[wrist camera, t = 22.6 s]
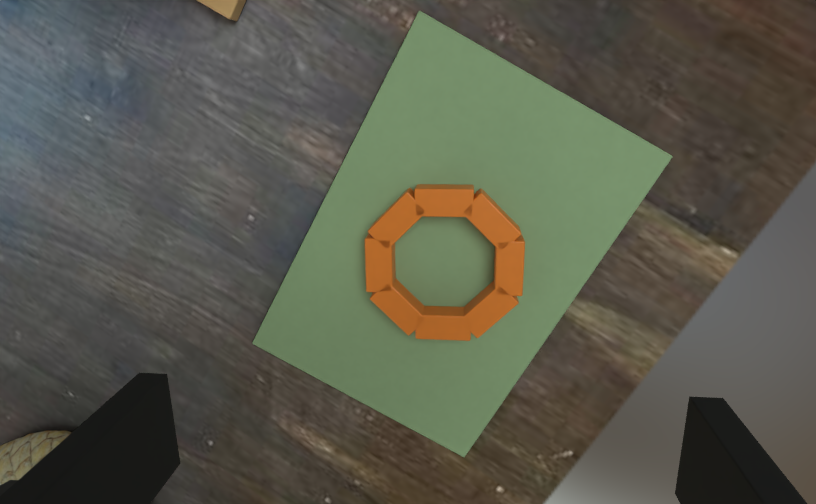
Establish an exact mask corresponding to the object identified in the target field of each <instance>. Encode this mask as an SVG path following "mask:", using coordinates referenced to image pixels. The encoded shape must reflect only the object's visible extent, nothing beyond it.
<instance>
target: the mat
mask: <svg viewBox="0 0 816 504" xmlns="http://www.w3.org/2000/svg"><path fill="white" fill-rule="evenodd" d="M671 158H672V155H670V154H668V153H666V152H665V151H663V150H661V149H659V148H658V147H656V146H654V145H652V144H651V143H649V142H647V141H646V140H644V139H642V138H640V137H639V136H637V135H635V134H633V133H632V132H630V131H628V130H626V129H625V128H623V127H621V126H619V125H618V124H616V123H614V122H612V121H611V120H609V119H607V118H605V117H604V116H602V115H600V114H599V113H597V112H595V111H593V110H592V109H590V108H588V107H586V106H585V105H583V104H581V103H579V102H578V101H576V100H574V99H572V98H571V97H569V96H567V95H565V94H564V93H562V92H560V91H559V90H557V89H555V88H553V87H552V86H550V85H548V84H546V83H545V82H543V81H541V80H539V79H538V78H536V77H534V76H532V75H531V74H529V73H527V72H525V71H524V70H522V69H520V68H518V67H517V66H515V65H513V64H512V63H510V62H508V61H506V60H505V59H503V58H501V57H499V56H498V55H496V54H494V53H492V52H491V51H489V50H487V49H485V48H484V47H482V46H480V45H478V44H477V43H475V42H473V41H472V40H470V39H468V38H466V37H465V36H463V35H461V34H459V33H458V32H456V31H454V30H452V29H451V28H449V27H447V26H445V25H444V24H442V23H440V22H438V21H437V20H435V19H433V18H431V17H430V16H428V15H426V14H425V13H423V12H421V11H419V12H418V14H417V16H416V18H415V20H414V22H413V24H412V26H411V28H410V30H409V32H408V34H407V36H406V38H405V40H404V42H403V44H402V46H401V48H400V50H399V52H398V54H397V56H396V58H395V60H394V62H393V64H392V66H391V68H390V70H389V72H388V74H387V76H386V78H385V80H384V82H383V84H382V86H381V88H380V90H379V91H378V93H377V95H376V97H375V99H374V101H373V103H372V105H371V107H370V109H369V111H368V113H367V115H366V117H365V119H364V121H363V123H362V125H361V127H360V129H359V131H358V133H357V135H356V137H355V139H354V141H353V143H352V145H351V147H350V149H349V151H348V153H347V155H346V157H345V159H344V161H343V163H342V165H341V167H340V169H339V171H338V173H337V175H336V177H335V179H334V181H333V183H332V185H331V187H330V189H329V191H328V193H327V195H326V197H325V199H324V201H323V203H322V205H321V207H320V209H319V211H318V213H317V215H316V217H315V219H314V221H313V223H312V225H311V227H310V229H309V231H308V233H307V235H306V237H305V239H304V241H303V243H302V245H301V247H300V249H299V251H298V253H297V255H296V257H295V259H294V261H293V263H292V265H291V267H290V269H289V271H288V273H287V275H286V277H285V279H284V281H283V283H282V285H281V287H280V289H279V290H278V292H277V294H276V296H275V298H274V300H273V302H272V304H271V306H270V308H269V310H268V312H267V314H266V316H265V318H264V320H263V322H262V324H261V326H260V328H259V330H258V332H257V334H256V336H255V338H254V340H253V342H252V344H254V345H256V346H257V347H259V348H261V349H263V350H265V351H267V352H269V353H270V354H272V355H274V356H276V357H278V358H280V359H282V360H283V361H285V362H287V363H289V364H291V365H293V366H295V367H297V368H298V369H300V370H302V371H304V372H306V373H308V374H310V375H311V376H313V377H315V378H317V379H319V380H321V381H323V382H324V383H326V384H328V385H330V386H332V387H334V388H336V389H338V390H339V391H341V392H343V393H345V394H347V395H349V396H351V397H352V398H354V399H356V400H358V401H360V402H362V403H364V404H365V405H367V406H369V407H371V408H373V409H375V410H377V411H379V412H380V413H382V414H384V415H386V416H388V417H390V418H392V419H393V420H395V421H397V422H399V423H401V424H403V425H405V426H406V427H408V428H410V429H412V430H414V431H416V432H418V433H420V434H421V435H423V436H425V437H427V438H429V439H431V440H433V441H434V442H436V443H438V444H440V445H442V446H444V447H446V448H447V449H449V450H451V451H453V452H455V453H457V454H459V455H461V456H462V457H465V456H466V454H467V453H468V451H469V450H470V449H471V447H472V446H473V444H474V443H475V441H476V440H477V438H478V437H479V436H480V434H481V433H482V431H483V430H484V428H485V427H486V425H487V424H488V423H489V421H490V420H491V418H492V417H493V415H494V414H495V412H496V411H497V410H498V408H499V407H500V405H501V404H502V402H503V401H504V399H505V398H506V397H507V395H508V394H509V392H510V391H511V389H512V388H513V386H514V385H515V384H516V382H517V381H518V379H519V378H520V376H521V375H522V373H523V372H524V371H525V369H526V368H527V366H528V365H529V363H530V362H531V360H532V359H533V358H534V356H535V355H536V353H537V352H538V350H539V349H540V347H541V346H542V345H543V343H544V342H545V340H546V339H547V337H548V336H549V334H550V333H551V332H552V330H553V329H554V327H555V326H556V324H557V323H558V321H559V320H560V319H561V317H562V316H563V314H564V313H565V311H566V310H567V308H568V307H569V306H570V304H571V303H572V301H573V300H574V298H575V297H576V295H577V294H578V293H579V291H580V290H581V288H582V287H583V285H584V284H585V282H586V281H587V280H588V278H589V277H590V275H591V274H592V272H593V271H594V269H595V268H596V267H597V265H598V264H599V262H600V261H601V259H602V258H603V256H604V255H605V254H606V252H607V251H608V249H609V248H610V246H611V245H612V244H613V242H614V241H615V239H616V238H617V236H618V235H619V233H620V232H621V231H622V229H623V228H624V226H625V225H626V223H627V222H628V220H629V219H630V218H631V216H632V215H633V213H634V212H635V210H636V209H637V207H638V206H639V205H640V203H641V202H642V200H643V199H644V197H645V196H646V194H647V193H648V192H649V190H650V189H651V187H652V186H653V184H654V183H655V181H656V180H657V179H658V177H659V176H660V174H661V173H662V171H663V170H664V168H665V167H666V166H667V164H668V163H669V161H670V160H671ZM417 184H456V185H474V194H475V193H476V192H477V191H478V190H479V189H483V190H484V191H485V192H486V193H487V194H488V195H489V196H490V197H491V198H492V199H493V200H494V201H495V202H496V203H497V205H498V206H499V207H500V208H501V209H502V210H503V211H504V212H505V213H506V214H507V215H508V216H509V217H510V218H511V219H512V220H513V221H514V222H515V223H516V224H517V225H518V226H519V228H520V230H521V233H522V234H521V235H523V238H524V241H525V256H524V276H523V295H522V296H517V297H518V301H519V303H518V304H517V305H516V306H515V307H514V308H513V309H512V310H510V311H509V312H508V313H507V314H506V315H505V316H503V317H502V318H501V319H500V320H499V321H498V322H496V323H495V324H494V325H493V326H492V327H491V328H489V329H488V330H487V331H486V332H485V333H484V334H482V335H481V336H480V337H479V338H476V337H475V336H474V335H473V334H472V333H471V340H470V341H462V340H434V339H416V338H415V331H414V332H413V333H412V334H410V335H409V336H408V335H407V334H406V333H405V332H404V331H403V330H402V329H401V328H400V327H399V326H398V325H396V324H395V323H394V322H393V321H392V320H391V319H390V318H389V317H388V316H387V315H386V314H385V313H384V312H383V311H382V310H381V309H380V308H379V307H378V306H376V305H375V304H374V303H373V302H372V301H371V300H370V297H371V295H372V293H373V292H367V291H366V271H365V238H366V236H367V235H368V230H369V228H370V227H371V225H372V224H373V223H374V222H375V221H376V220H377V219H378V218H379V217H380V216H381V215H382V214H383V213H384V212H385V211H386V210H387V209H388V208H389V207H390V206H391V205H392V204H393V203H394V202H395V201H396V200H397V199H398V198H399V197H400V196H401V195H402V194H403V193H404V192H405V191H406V190H407V189H408V188H411V189H412V190H413V191H414V190H415V188H416V186H417ZM494 259H495V246H494V245H493V244H492V243H491V242H490V241H489V240H488V239H487V238H486V237H485V236H484V235H483V234H482V233H481V232H480V231H479V230H478V229H477V228H476V227H475V226H474V225H473V224H472V223H471V222H470V221H469V220H468V219H467V218H466V217H421V218H420V219H419V220H418V221H417V222H416V223H415V224H414V225H413V226H412V227H411V228H410V229H409V230H408V231H407V232H406V233H405V234H404V235H403V236H402V237H400V238H399V239H398V240H397V241H396V242H395V264H396V279H397V280H398V281H399V282H400V283H401V284H402V285H403V286H404V287H405V288H406V289H407V290H408V291H409V292H411V293H412V294H413V295H414V296H415V297H416V298H417V299H418V300H419V301H420V302H421V303H422V304H423V305H424V306H451V307H464V306H466V305H467V304H468V303H469V302H470V301H471V300H472V299H473V298H475V297H476V296H477V295H478V294H479V293H480V292H481V291H482V290H484V289H485V288H486V287H487V286H488V285H489V284H490V283H491V282H493V281H494Z"/></svg>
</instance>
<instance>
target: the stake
mask: <svg viewBox="0 0 816 504" xmlns="http://www.w3.org/2000/svg"><path fill="white" fill-rule="evenodd" d="M197 1H199V2H200V3H202V4H204V5H205V6H207V7H209V8H211V9H212V10H214V11H216V12H217V13H219V14H221V15H223V16H224V17H226V18H228V19H230V20H234V21H237V20H238V18H239V16H240V14H241V11H242V9H243V7H244V4H245V2H246V0H197Z"/></svg>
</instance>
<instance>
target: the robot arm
mask: <svg viewBox="0 0 816 504" xmlns="http://www.w3.org/2000/svg"><path fill="white" fill-rule="evenodd" d="M179 464H180V459H179V452H178V445H177V438H176V432H175V425H174V418H173V411H172V405H171V398H170V391H169V384H168V378H167V374H154V373H139V374H138V375H136V376H135V377H134V378H133V379H132V380H131V381H130V382H128V383H127V384H126V385H125V386H124V387H123V388H122V389H121V390H119V391H118V392H117V393H116V394H115V395H114V396H113V397H112V398H110V399H109V400H108V401H107V402H106V403H105V404H104V405H103V406H101V407H100V408H99V409H98V410H97V411H96V412H95V413H94V414H92V415H91V416H90V417H89V418H88V419H87V420H86V421H84V422H83V423H82V424H81V425H80V426H79V427H78V428H77V429H75V430H74V431H73V432H72V433H71V434H70V435H69V436H68V437H66V438H65V439H64V440H63V441H62V442H61V443H60V444H59V445H57V446H56V447H55V448H54V449H53V450H52V451H51V452H49V453H48V454H47V455H46V456H45V457H44V458H43V459H42V460H40V461H39V462H38V463H37V464H36V465H35V466H34V467H33V468H31V469H30V470H29V471H28V472H27V473H26V474H25V475H24V476H22V477H21V478H20V479H19V480H9V481H7V482H5V483H4V484H2V485H0V504H150V503H151V501H152V500H153V499H154V497H155V496H156V495H157V493H158V492H159V491H160V489H161V488H162V487H163V486H164V484H165V483H166V482H167V480H168V479H169V478H170V476H171V475H172V474H173V472H174V471H175V470H176V468H177V467H178V466H179ZM675 494H676V496H677V498H678V500H679V502H680V504H807V503H806V502H805V500H804V499H803V498H802V497H801V495H800V494H799V493H798V492H797V490H796V489H795V488H794V486H793V485H792V484H791V483H790V481H789V480H788V479H787V478H786V476H785V475H784V474H783V473H782V471H781V470H780V469H779V468H778V466H777V465H776V464H775V463H774V461H773V460H772V459H771V458H770V456H769V455H768V454H767V453H766V451H765V450H764V449H763V448H762V446H761V445H760V444H759V443H758V441H757V440H756V439H755V438H754V436H753V435H752V434H751V433H750V431H749V430H748V429H747V428H746V426H745V425H744V424H743V423H742V421H741V420H740V419H739V418H738V416H737V415H736V414H735V413H734V411H733V410H732V409H731V408H730V406H729V405H728V404H727V402H726V401H725V400H724V399H723V398H706V397H689V403H688V410H687V417H686V423H685V430H684V437H683V443H682V450H681V457H680V464H679V470H678V477H677V484H676V491H675Z"/></svg>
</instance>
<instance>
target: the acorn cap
mask: <svg viewBox="0 0 816 504" xmlns="http://www.w3.org/2000/svg"><path fill="white" fill-rule="evenodd" d="M71 433H72V432H69V431H57V430H54V431H50V430H47V431H42V432H37V433H30V434H28V435H26V436H24V437H21V438H17V439H15V440H13V441H10V442H8V443H5V444H3V445H0V485H2V484H4V483H5V482H7V481H9V480H19V479H20V478H21V477H22V476H24V475H25V474H26V473H27V472H28V471H29V470H30V469H31V468H33V467H34V466H35V465H36V464H37V463H38V462H39V461H40V460H42V459H43V458H44V457H45V456H46V455H47V454H48V453H49V452H51V451H52V450H53V449H54V448H55V447H56V446H57V445H59V444H60V443H61V442H62V441H63V440H64V439H65V438H66V437H68V436H69V435H70V434H71Z"/></svg>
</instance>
